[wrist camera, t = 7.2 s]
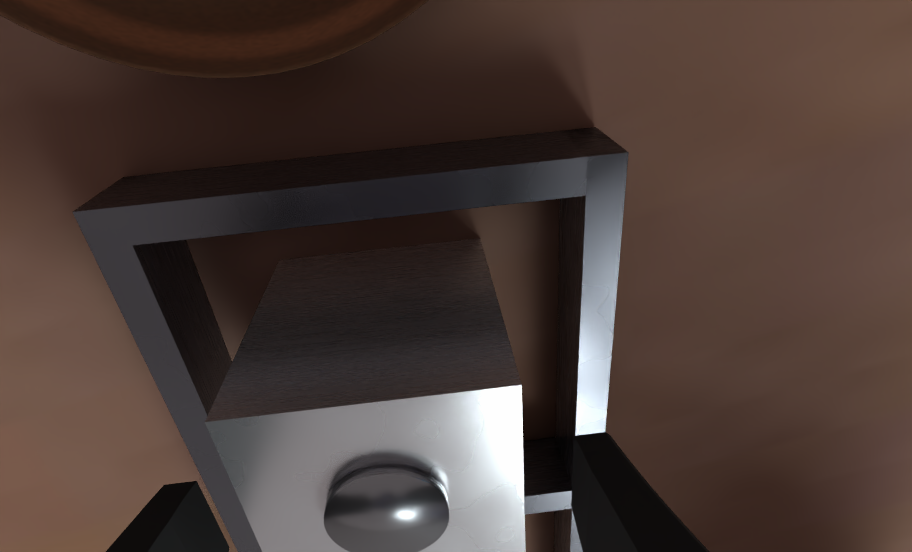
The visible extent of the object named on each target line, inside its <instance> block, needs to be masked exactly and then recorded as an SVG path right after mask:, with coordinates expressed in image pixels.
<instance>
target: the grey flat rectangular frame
mask: <svg viewBox="0 0 912 552" xmlns="http://www.w3.org/2000/svg"><path fill="white" fill-rule="evenodd" d="M627 163H628V152H627V151H626V150H625V149H623V148H622V147H621V146H619V145H618V144H617V143H616V142H614V141H613V140H612V139H610V138H609V137H608V136H607V135H605V134H604V133H603V132H601V131H600V130H599V129H597V128H596V127H594V128H584V129H575V130H565V131H556V132H546V133H537V134H527V135H518V136H508V137H499V138H490V139H480V140H471V141H461V142H452V143H442V144H433V145H423V146H414V147H404V148H395V149H386V150H376V151H367V152H357V153H348V154H338V155H329V156H319V157H310V158H300V159H291V160H281V161H272V162H263V163H253V164H244V165H234V166H225V167H215V168H206V169H196V170H187V171H177V172H168V173H158V174H149V175H140V176H130V177H123V178H121V179H120V180H118V181H117V182H115V183H114V184H113V185H111V186H110V187H108V188H107V189H105V190H104V191H102V192H101V193H99V194H98V195H97V196H95V197H94V198H92V199H91V200H89V201H88V202H86V203H85V204H83V205H82V206H81V207H79V208H78V209H76V210H75V211H73V214H74V216H75V218H76V220H77V222H78V224H79V226H80V228H81V231H82V233H83V235H84V237H85V239H86V241H87V243H88V245H89V247H90V249H91V251H92V253H93V255H94V257H95V259H96V261H97V263H98V265H99V267H100V270H101V272H102V274H103V276H104V278H105V280H106V282H107V284H108V286H109V288H110V290H111V292H112V294H113V296H114V298H115V300H116V302H117V304H118V306H119V308H120V311H121V313H122V315H123V317H124V319H125V321H126V323H127V325H128V327H129V329H130V331H131V333H132V335H133V337H134V339H135V341H136V343H137V345H138V347H139V350H140V352H141V354H142V356H143V358H144V360H145V362H146V364H147V366H148V368H149V370H150V372H151V374H152V376H153V378H154V380H155V382H156V384H157V386H158V389H159V391H160V393H161V395H162V397H163V399H164V401H165V403H166V405H167V407H168V409H169V411H170V413H171V415H172V417H173V419H174V421H175V423H176V425H177V428H178V430H179V432H180V434H181V436H182V438H183V440H184V442H185V444H186V446H187V448H188V450H189V452H190V454H191V456H192V458H193V460H194V462H195V464H196V466H197V469H198V471H199V473H200V475H201V477H202V479H203V481H204V483H205V485H206V487H207V489H208V491H209V493H210V495H211V497H212V499H213V501H214V503H215V505H216V508H217V510H218V512H219V514H220V516H221V518H222V520H223V522H224V524H225V526H226V528H227V530H228V532H229V534H230V536H231V538H232V540H233V542H234V544H235V547H236V549H237V551H238V552H262V550H261V548H260V546H259V543H258V541H257V539H256V537H255V534H254V532H253V530H252V528H251V525H250V523H249V521H248V519H247V516H246V514H245V512H244V510H243V507H242V505H241V503H240V501H239V498H238V496H237V494H236V492H235V489H234V487H233V485H232V482H231V480H230V478H229V476H228V473H227V471H226V469H225V467H224V464H223V462H222V460H221V458H220V455H219V453H218V451H217V449H216V446H215V444H214V442H213V440H212V437H211V435H210V433H209V431H208V428H207V426H206V424H205V420H206V418H207V416H208V414H209V412H210V410H211V407H212V405H213V403H214V401H215V399H216V397H217V394H218V392H219V390H220V388H221V386H222V384H223V381H224V379H225V377H226V375H227V373H228V370H229V368H230V366H231V364H232V361H231V359H230V356H229V354H228V351H227V348H226V346H225V343H224V340H223V338H222V335H221V333H220V330H219V327H218V325H217V322H216V320H215V317H214V314H213V312H212V309H211V306H210V304H209V301H208V299H207V296H206V293H205V291H204V288H203V285H202V283H201V280H200V278H199V275H198V272H197V270H196V267H195V264H194V262H193V259H192V257H191V254H190V251H189V249H188V246H187V244H186V241H185V240H186V239H195V238H204V237H214V236H223V235H232V234H241V233H250V232H259V231H268V230H277V229H287V228H296V227H305V226H314V225H323V224H332V223H341V222H350V221H360V220H369V219H378V218H387V217H396V216H405V215H414V214H423V213H433V212H442V211H451V210H460V209H469V208H478V207H487V206H496V205H506V204H515V203H524V202H533V201H542V200H551V199H560V218H559V275H558V332H557V390H556V438H548V439H540V440H532V441H524V442H523V466H524V512H525V514H533V513H541V512H549V511H554V552H583V550H582V547H581V543H580V539H579V535H578V531H577V527H576V523H575V519H574V515H573V511H572V506H571V497H572V472H573V447H574V436H576V435H584V434H592V433H601V432H605V426H606V414H607V402H608V390H609V378H610V366H611V354H612V342H613V330H614V318H615V307H616V295H617V283H618V271H619V259H620V247H621V235H622V223H623V211H624V199H625V187H626V175H627Z"/></svg>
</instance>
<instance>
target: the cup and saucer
mask: <svg viewBox="0 0 912 552" xmlns="http://www.w3.org/2000/svg"><path fill="white" fill-rule="evenodd" d="M427 1H428V0H0V15H1V16H3V17H5V18H7V19H8V20H10V21H12V22H14V23H16V24H18V25H19V26H21V27H24V28H26V29H28V30H30V31H32V32H35V33H37V34H39V35H41V36H43V37H46V38H48V39H50V40H52V41H54V42H57V43H59V44H61V45H64V46H67V47H69V48H72V49H75V50H78V51H80V52H83V53H86V54H89V55H91V56H94V57H97V58H100V59H104V60H107V61H111V62H115V63H118V64H122V65H126V66H129V67H133V68H137V69H142V70H148V71H153V72H159V73H164V74H170V75H178V76H190V77H202V78H243V77H251V76H260V75H268V74H277V73H281V72H285V71H290V70H294V69H298V68H303V67H307V66H311V65H314V64H316V63H319V62H322V61H325V60H328V59H331V58H334V57H337V56H339V55H342V54H344V53H346V52H348V51H350V50H352V49H354V48H356V47H359V46H361V45H363V44H365V43H367V42H369V41H371V40H373V39H374V38H376V37H378V36H379V35H381V34H382V33H384V32H386V31H387V30H389V29H391V28H392V27H394V26H395V25H397V24H399V23H400V22H401V21H403V20H404V19H405V18H407V17H408V16H409V15H410V14H412V13H413V12H414V11H416V10H417V9H418V8H420V7H421V6H422V5H423V4H425V3H426V2H427Z"/></svg>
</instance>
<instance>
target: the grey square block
mask: <svg viewBox="0 0 912 552" xmlns="http://www.w3.org/2000/svg"><path fill="white" fill-rule="evenodd" d="M205 424H206V426H207V428H208V431H209V433H210V435H211V437H212V440H213V442H214V444H215V446H216V449H217V451H218V453H219V455H220V458H221V460H222V462H223V464H224V467H225V469H226V471H227V473H228V476H229V478H230V480H231V482H232V485H233V487H234V489H235V492H236V494H237V496H238V498H239V501H240V503H241V505H242V507H243V510H244V512H245V514H246V516H247V519H248V521H249V523H250V525H251V528H252V530H253V532H254V534H255V537H256V539H257V541H258V543H259V546H260V548H261V550H262V552H525V512H524V466H523V421H522V384H521V381H520V377H519V374H518V370H517V367H516V363H515V360H514V356H513V352H512V349H511V345H510V342H509V338H508V335H507V331H506V328H505V324H504V321H503V317H502V314H501V310H500V307H499V303H498V299H497V296H496V292H495V289H494V285H493V282H492V278H491V275H490V271H489V268H488V264H487V261H486V257H485V254H484V250H483V246H482V243H481V239H480V238H478V239H468V240H459V241H450V242H441V243H431V244H422V245H413V246H404V247H394V248H385V249H376V250H367V251H358V252H348V253H339V254H330V255H321V256H311V257H302V258H293V259H284V260H279V262H278V264H277V266H276V268H275V271H274V273H273V275H272V277H271V279H270V281H269V284H268V286H267V288H266V290H265V292H264V294H263V297H262V299H261V301H260V303H259V305H258V307H257V310H256V312H255V314H254V316H253V318H252V321H251V323H250V325H249V327H248V329H247V331H246V334H245V336H244V338H243V340H242V342H241V344H240V347H239V349H238V351H237V353H236V355H235V357H234V360H233V362H232V364H231V366H230V368H229V370H228V373H227V375H226V377H225V379H224V381H223V384H222V386H221V388H220V390H219V392H218V394H217V397H216V399H215V401H214V403H213V405H212V407H211V410H210V412H209V414H208V416H207V418H206V420H205Z"/></svg>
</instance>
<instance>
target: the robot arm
mask: <svg viewBox="0 0 912 552" xmlns="http://www.w3.org/2000/svg"><path fill="white" fill-rule="evenodd" d="M571 506H572V511H573V515H574V519H575V523H576V527H577V531H578V535H579V539H580V543H581V547H582V550H583V552H709V551H708V550H707V548H706V547H705V546H704V545H703V544H702V543H701V542H700V541H699V540H698V539H697V538H696V537H695V536H694V535H693V533H692V532H691V531H690V530H689V529H688V528H687V527H686V526H685V525H684V524H683V522H682V521H681V520H680V519H679V518H678V517H677V516H676V515H675V514H674V513H673V511H672V510H671V509H670V508H669V507H668V506H667V505H666V504H665V502H664V501H663V500H662V499H661V498H660V497H659V495H658V494H657V493H656V492H655V491H654V490H653V488H652V487H651V486H650V485H649V484H648V482H647V481H646V480H645V479H644V478H643V476H642V475H641V474H640V473H639V472H638V470H637V469H636V468H635V467H634V465H633V464H632V463H631V462H630V460H629V459H628V458H627V457H626V455H625V454H624V453H623V452H622V450H621V449H620V448H619V446H618V445H617V444H616V442H615V441H614V440H613V438H612V437H611V436H610V435H609V434H607V433H606V432H601V433H592V434H584V435H576V436H574V447H573V472H572V497H571ZM106 552H229V546H228V544H227V542H226V540H225V538H224V536H223V534H222V532H221V530H220V528H219V525H218V523H217V521H216V519H215V517H214V515H213V513H212V511H211V509H210V507H209V505H208V503H207V501H206V499H205V497H204V495H203V493H202V491H201V489H200V487H199V485H198V483H197V481H193V482H184V483H176V484H168V485H164V486H163V487H162V488H161V489H160V490H159V491H158V492H157V494H156V495H155V496H154V497H153V498H152V499H151V500H150V501H149V503H148V504H147V505H146V506H145V507H144V508H143V509H142V511H141V512H140V513H139V514H138V515H137V516H136V517H135V519H134V520H133V521H132V522H131V523H130V524H129V526H128V527H127V528H126V529H125V530H124V531H123V532H122V534H121V535H120V536H119V537H118V538H117V539H116V541H115V542H114V543H113V544H112V545H111V546H110V547H109V549H108V550H107V551H106Z"/></svg>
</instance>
